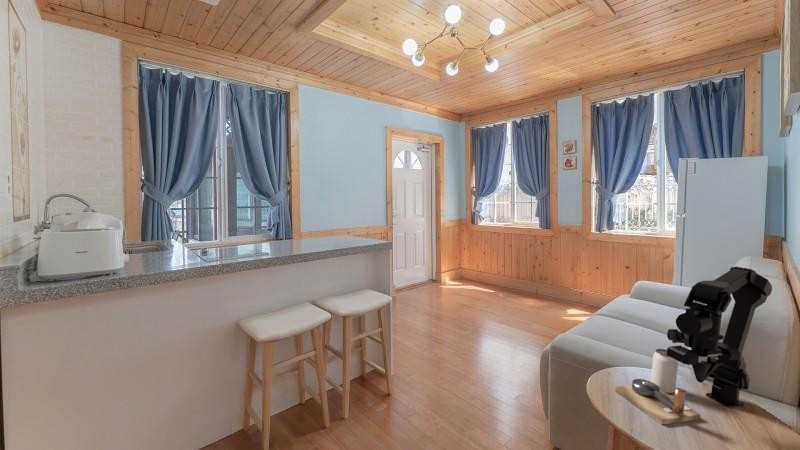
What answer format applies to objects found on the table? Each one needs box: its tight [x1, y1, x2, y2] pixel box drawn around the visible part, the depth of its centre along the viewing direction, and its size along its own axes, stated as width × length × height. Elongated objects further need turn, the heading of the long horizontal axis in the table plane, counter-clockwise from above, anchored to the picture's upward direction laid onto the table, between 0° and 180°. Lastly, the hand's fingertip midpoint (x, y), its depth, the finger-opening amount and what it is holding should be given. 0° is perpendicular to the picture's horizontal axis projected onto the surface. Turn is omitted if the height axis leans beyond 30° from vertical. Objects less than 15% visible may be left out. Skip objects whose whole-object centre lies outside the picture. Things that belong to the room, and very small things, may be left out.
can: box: [650, 348, 679, 394], centre depth 114 cm, size 6×6×12 cm
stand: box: [614, 384, 701, 425], centre depth 106 cm, size 13×16×2 cm
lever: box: [631, 378, 687, 414], centre depth 105 cm, size 16×7×7 cm, turn 9°
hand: (699, 381), depth 100 cm, fingers closed
